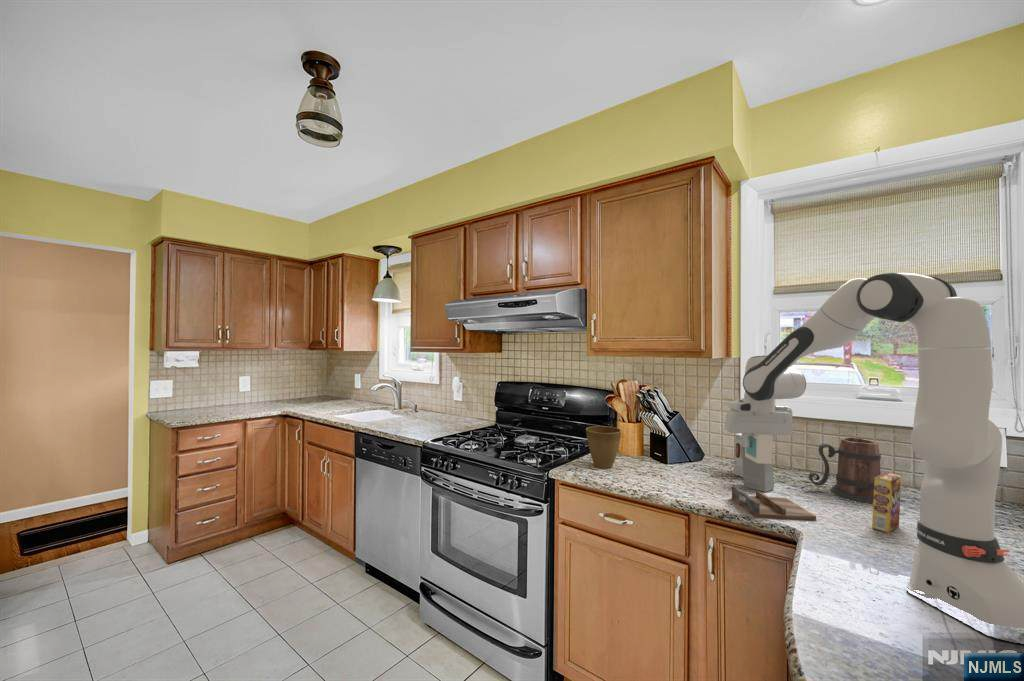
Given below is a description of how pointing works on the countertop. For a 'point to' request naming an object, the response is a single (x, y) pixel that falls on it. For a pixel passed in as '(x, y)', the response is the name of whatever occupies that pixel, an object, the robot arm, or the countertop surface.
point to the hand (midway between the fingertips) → (758, 447)
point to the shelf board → (770, 506)
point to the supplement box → (738, 454)
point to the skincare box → (757, 474)
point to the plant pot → (603, 445)
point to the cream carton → (760, 448)
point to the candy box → (886, 502)
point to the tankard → (853, 469)
